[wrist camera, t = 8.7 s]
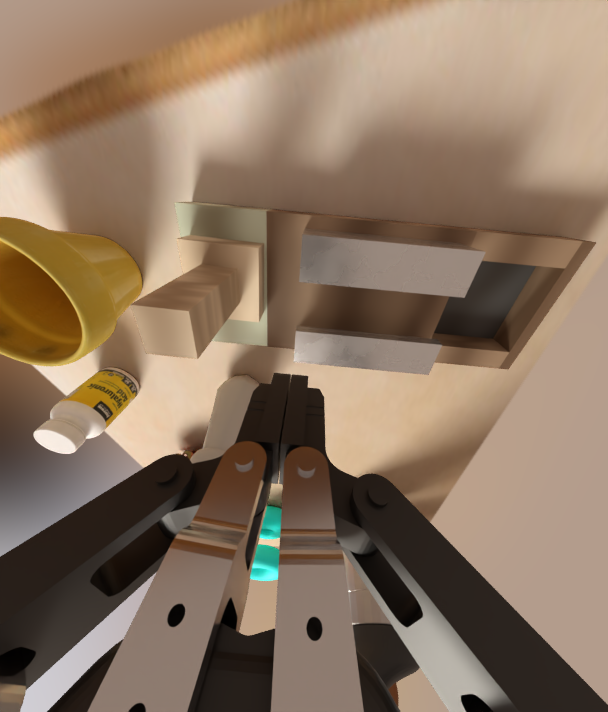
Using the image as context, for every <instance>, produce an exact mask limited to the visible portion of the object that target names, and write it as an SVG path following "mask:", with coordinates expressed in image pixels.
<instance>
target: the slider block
mask: <svg viewBox="0 0 608 712" xmlns="http://www.w3.org/2000/svg"><path fill="white" fill-rule="evenodd" d="M177 245H178V250H179V256H180V261H181V267H182V272H183V275H181V276H180V277H178V278H176V279H174V280H173V281H171V282H169V283H167V284H166V285H164V286H162V287H160V288H159V289H157V290H155V291H153V292H152V293H150V294H148V295H146V296H145V297H143V298H141V299H139V300H138V301H136V302H134V303H132V304H131V309H132V312H133V315H134V318H135V321H136V324H137V327H138V330H139V333H140V336H141V340H142V343H143V346H144V349H145V352H146V354H155V355H164V356H173V357H182V358H191V359H198V358H199V357H200V355H201V354H202V353H203V351H204V350H205V349H206V347H207V346H208V345H209V343H210V342H211V341H212V339H213V338H214V337H215V335H216V334H217V333H218V331H219V330H220V329H221V327H222V326H223V325H224V323H225V322H226V321H227V319H232V320H241V321H250V322H260V319H261V317H262V315H263V313H264V243H256V242H248V241H239V240H231V239H222V238H213V237H205V236H196V235H188V236H184V237H181V238H177Z"/></svg>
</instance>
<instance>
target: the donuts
mask: <svg viewBox="0 0 608 712" xmlns="http://www.w3.org/2000/svg"><path fill="white" fill-rule="evenodd" d="M281 511H282V509H280V508H278V507H274V506H267V508H266V512H265V516H264V520H263V525H262V529H261V533H260V537H259V538H264V539H276V538H280V530H281ZM278 568H279V550H278V549H277V548H275V547H272V546H268V545H257V549H256V553H255V557H254V561H253V566H252V570H251V575H250V579H254V580H261V581H271V580H277V579H278Z"/></svg>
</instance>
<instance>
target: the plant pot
mask: <svg viewBox="0 0 608 712" xmlns="http://www.w3.org/2000/svg"><path fill="white" fill-rule="evenodd" d="M141 290H142V277H141V273H140V270H139V268H138V266H137V264H136V262H135V261H134V260H133V258H132V257H131V256H130V255H129V254H128V252H127V251H126V250H124V249H123V248H122V247H121V246H120V245H118V244H117V243H115V242H114V241H112V240H110V239H107V238H105V237H101V236H97V235H88V234H79V233H70V232H62V231H54V230H48V229H46V228H44V227H41V226H39V225H37V224H34V223H31V222H28V221H25V220H21V219H16V218H10V217H0V353H1V354H3V355H5V356H7V357H10V358H13V359H15V360H18V361H22V362H25V363H29V364H33V365H40V366H61V365H66V364H69V363H72V362H75V361H77V360H79V359H80V358H82V357H84V356H85V355H87V354H88V353H90V352H91V351H93V350H94V349H96V348H97V347H98V346H100V345H101V344H102V343H104V342H105V341H106V340H107V339H108V338H109V337H110V336H111V335H112V333H113V332H114V330H115V327H116V323H117V319H118V318H119V317H120V316H121V314H122V313H123V312H124V311H125V310H126V309H127V308H128V307H129V306H130V305H131V304H132V303H133V302H134V301H135V299H136V298H137V297H138V296H139V295H140V293H141Z"/></svg>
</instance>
